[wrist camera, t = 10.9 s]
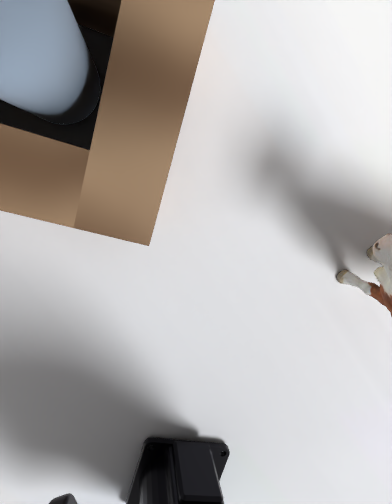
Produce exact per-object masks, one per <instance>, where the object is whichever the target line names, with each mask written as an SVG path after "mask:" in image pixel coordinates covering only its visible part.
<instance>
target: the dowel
mask: <svg viewBox="0 0 392 504" xmlns="http://www.w3.org/2000/svg"><path fill="white" fill-rule="evenodd" d="M99 95H100V79H99V74H98V71H97V69H96V66H95V64H94V62H93V59H92V57H91V55H90V52H89V50H88V48H87V45H86V43H85V41H84V38H83V36H82V34H81V31H80V29H79V27H78V24H77V22H76V20H75V17H74V15H73V13H72V10H71V8H70V6H69V3H68V1H67V0H0V99H1V100H3V101H5V102H7V103H9V104H12V105H14V106H16V107H18V108H20V109H22V110H25V111H27V112H29V113H31V114H33V115H35V116H37V117H40V118H42V119H44V120H46V121H49V122H51V123H55V124H61V125H67V124H73V123H77V122H79V121H81V120H83V119H85V118H86V117H87V116H89V115H90V113H91V112H92V111H93V110H94V108H95V107H96V105H97V102H98V99H99Z"/></svg>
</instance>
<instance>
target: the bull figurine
mask: <svg viewBox="0 0 392 504" xmlns="http://www.w3.org/2000/svg"><path fill="white" fill-rule="evenodd" d="M367 256H368V257H369V258H370V259H371V260H373V261H375V262H379V263H380V264H382V265H383V267H379V268H377V269H376V270H375V271H374V275H375V276H376V278H377V279H378V281H379V282H380V287H379V286H378V285H376V284H374V283H370V282H366V281H364V280H361V279H360V278H359V277H358V276H356V275H354V274H353V273H351V272H349V271H348V270H343V271H341V272H340V273H339V274H338V276H337V280H338V282H339V283H342V284H346V285H351V286H354V287H358V288H360V289H361V290H362V291H363V292H364V293H365V294H367V295H369V296H372V297H373V298H375V299H376V300H378V301H379V302H380V303H381V304H382V305H384V306H386V307H387V309H388V310H389V311H390V312H391V316H392V234H387V235H385V236H383V237H382V238H380V239H379V240H377V241H376V242H375V244H374V245H373V246H372V247H370V248H369V249H368V251H367Z"/></svg>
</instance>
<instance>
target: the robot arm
mask: <svg viewBox="0 0 392 504" xmlns="http://www.w3.org/2000/svg"><path fill="white" fill-rule="evenodd" d="M150 445H152V446H150ZM222 451H223V452H222ZM229 453H230V452H229V449H228V446H227V445H226V444H219V443H208V442H198V441H187V440H176V439H165V438H154V437H152V438H148V439H146V440H145V442H144V445H143V448H142V451H141V455H140V458H139V461H138V464H137V468H136V471H135V474H134V477H133V481H132V484H131V487H130V490H129V494H128V497H127V500H126V504H224V501H223V495H222V491H221V487H220V483H219V480H220V478H221V475H222V472H223V470H224V467H225V464H226V462H227V459H228V457H229ZM49 504H77V502H76V500H75V498H74V496H73V495H72V494H70V493H69V494H65V495H62V496H59V497H56V498H54V499H53V500H51V502H50V503H49Z"/></svg>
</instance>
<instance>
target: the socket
mask: <svg viewBox="0 0 392 504" xmlns="http://www.w3.org/2000/svg"><path fill="white" fill-rule="evenodd" d="M67 1H68V3H69V6H70V8H71V10H72V13H73V15H74V17H75V20H76V22H77V24H80V25H83V26H85V27H88V28H90V29H93V30H95V31H98V32H100V33H103V34H106V35H108V36H111V37H113V38H114V39H113V43H112V48H111V53H110V58H109V62H108V67H107V72H106V76H105V81H104V86H103V91H102V95H101V100H100V105H99V110H98V114H97V119H96V124H95V129H94V133H93V138H92V143H91V147H90V150H88V149H85V148H82V147H78V146H75V145H72V144H68V143H65V142H62V141H59V140H55V139H52V138H49V137H45V136H42V135H39V134H35V133H32V132H29V131H25V130H22V129H19V128H15V127H12V126H9V125H5V124H2V123H0V210H1V211H5V212H9V213H14V214H18V215H22V216H26V217H30V218H34V219H39V220H43V221H47V222H51V223H55V224H59V225H64V226H68V227H72V228H76V229H80V230H84V231H89V232H93V233H97V234H101V235H105V236H109V237H114V238H118V239H122V240H126V241H130V242H134V243H139V244H143V245H147V246H149V244H150V240H151V237H152V233H153V229H154V225H155V222H156V218H157V214H158V210H159V207H160V203H161V199H162V195H163V192H164V188H165V184H166V180H167V177H168V173H169V169H170V166H171V162H172V158H173V154H174V151H175V147H176V143H177V139H178V136H179V132H180V128H181V124H182V121H183V117H184V113H185V109H186V106H187V102H188V98H189V95H190V91H191V87H192V83H193V80H194V76H195V72H196V68H197V65H198V61H199V57H200V53H201V50H202V46H203V42H204V38H205V35H206V31H207V27H208V24H209V20H210V16H211V12H212V9H213V5H214V1H215V0H67Z"/></svg>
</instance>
